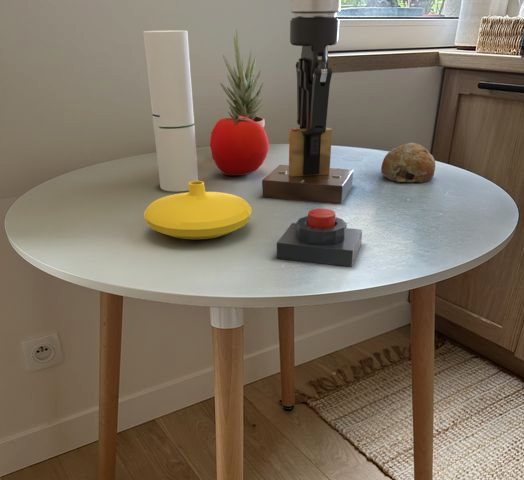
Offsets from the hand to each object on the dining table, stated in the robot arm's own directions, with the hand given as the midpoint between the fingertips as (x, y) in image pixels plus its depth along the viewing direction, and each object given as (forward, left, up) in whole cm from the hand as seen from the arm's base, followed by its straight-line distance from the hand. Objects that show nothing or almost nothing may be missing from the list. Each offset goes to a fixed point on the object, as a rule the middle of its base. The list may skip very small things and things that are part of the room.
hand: (309, 171), depth 96 cm
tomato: (+16, -8, -4) cm, 18 cm away
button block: (-8, +27, -3) cm, 28 cm away
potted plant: (+21, -25, -4) cm, 33 cm away
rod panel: (0, 0, -3) cm, 3 cm away
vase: (+11, +24, -4) cm, 27 cm away
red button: (-8, +27, 0) cm, 28 cm away
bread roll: (-16, -15, -4) cm, 22 cm away
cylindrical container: (+24, +3, -4) cm, 24 cm away
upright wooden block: (0, 0, 0) cm, 0 cm away
